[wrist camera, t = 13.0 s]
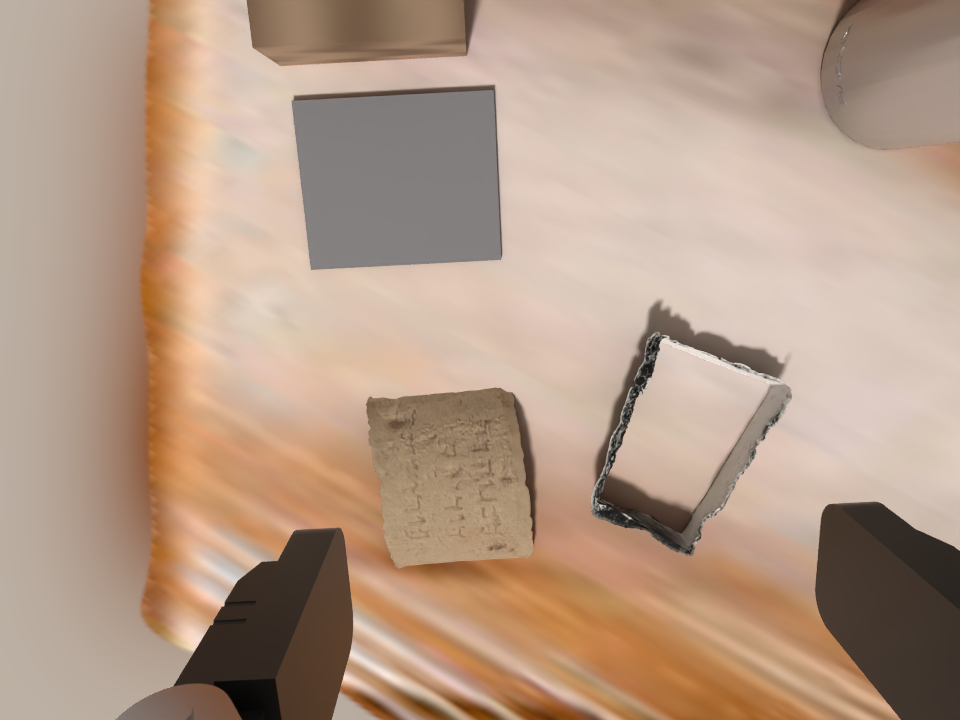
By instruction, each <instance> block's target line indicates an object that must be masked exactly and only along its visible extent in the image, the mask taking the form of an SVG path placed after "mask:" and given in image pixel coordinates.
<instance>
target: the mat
mask: <svg viewBox="0 0 960 720" xmlns="http://www.w3.org/2000/svg"><path fill="white" fill-rule="evenodd" d="M292 108H293V116H294V125H295V134H296V143H297V151H298V160H299V169H300V178H301V186H302V195H303V204H304V212H305V221H306V230H307V239H308V247H309V256H310V265H311V270H315V269H334V268H353V267H372V266H391V265H410V264H429V263H448V262H467V261H486V260H501V244H500V221H499V198H498V175H497V152H496V129H495V105H494V90H482V91H463V92H444V93H426V94H407V95H389V96H370V97H352V98H333V99H315V100H296V101H292Z"/></svg>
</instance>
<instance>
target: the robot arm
mask: <svg viewBox="0 0 960 720" xmlns="http://www.w3.org/2000/svg"><path fill="white" fill-rule="evenodd" d="M821 90H822V94H823V98H824V102H825V106H826V108H827V110H828V112H829V114H830V116H831V118H832V120H833V122H834V123H835V124H836V125H837V126H838V128H839V129H840V130H841V131H842V132H843V133H844V134H845V135H847V136H848V137H849V138H851V139H852V140H853V141H855V142H857V143H860V144H862V145H864V146H867V147H870V148H877V149H883V150H886V149H901V148H911V147H920V146H930V145H942V144H951V143H960V0H861V1H859V2H858V3H857V4H856V5H854V6H853V7H852V8H851V9H850V10H849V11H848V13H847V14H846V15H845V16H844V17H843V18H842V20H841V21H840V22H839V24H838V25H837V27H836V29H835V30H834V32H833V34H832V36H831V37H830V40H829V43H828V45H827V48H826V51H825V53H824V58H823V64H822V70H821ZM815 592H816V601H817V606H818V609H819V613H820V615H821V618H822V620H823V622H824V624H825V626H826V627H827V629H828V630H829V631H830V633H831V634H832V635H833V636H834V637H835V639H836V640H837V641H838V642H839V644H840V645H841V646H842V647H843V649H844V650H845V651H846V652H847V654H848V655H849V656H850V657H851V658H852V660H853V661H854V662H855V663H856V665H857V666H858V667H859V668H860V670H861V671H862V672H863V673H864V674H865V676H866V677H867V678H868V679H869V681H870V682H871V683H872V684H873V686H874V687H875V688H876V689H877V690H878V692H879V693H880V694H881V695H882V697H883V698H884V699H885V700H886V702H887V703H888V704H889V705H890V706H891V708H892V709H893V710H894V711H895V713H896V714H897V715H898V716H899V718H900V719H901V720H960V551H959V550H958V549H956V548H955V547H954V546H952V545H949V544H947V543H945V542H943V541H941V540H938V539H936V538H934V537H932V536H929V535H927V534H925V533H923V532H921V531H918V530H916V529H914V528H913V527H912V526H911V525H909V524H908V523H907V522H905V521H904V520H903V519H901V518H900V517H899V516H897V515H896V514H895V513H893V512H892V511H891V510H889V509H888V508H887V507H886V506H884V505H883V504H881V503H879V502H860V503H840V504H829V505H827V506H826V507H825V509H824V511H823V513H822V517H821V526H820V538H819V550H818V562H817V574H816V587H815ZM352 635H353V610H352V601H351V592H350V583H349V574H348V565H347V557H346V548H345V540H344V535H343V532H342V530H341V528H325V529H306V530H295V531H294V532H293V534H292V535H291V537H290V539H289V541H288V543H287V545H286V547H285V549H284V550H283V552H282V554H281V556H280V558H279V560H278V561H270V562H261V563H260V564H259V565H257V566H256V567H255V568H253V569H252V570H251V571H250V572H248V573H247V574H246V575H245V576H243V577H242V578H241V579H240V580H238V581H237V583H236V585H235V586H234V588H233V590H232V591H231V593H230V595H229V596H228V598H227V599H226V601H225V606H224V607H222V608H221V609H220V611H219V612H218V614H217V616H216V617H215V619H214V624H213V625H211V626H210V627H209V629H208V630H207V632H206V634H205V635H204V637H203V639H202V640H201V642H200V644H199V645H198V647H197V648H196V650H195V652H194V653H193V655H192V657H191V658H190V660H189V662H188V663H187V665H186V666H185V668H184V670H183V671H182V673H181V675H180V676H179V678H178V680H177V681H176V683H175V685H174V686H173V687H171V688H167V689H164V690H162V691H159V692H156V693H154V694H152V695H150V696H148V697H146V698H144V699H142V700H141V701H139V702H137V703H136V704H134V705H133V706H132V707H130V708H129V709H127V710H126V711H125V712H123V713H122V714H121V715H120V716H119V717H118V718H117V719H116V720H332V716H333V713H334V708H335V705H336V701H337V698H338V694H339V691H340V687H341V683H342V679H343V676H344V672H345V668H346V665H347V661H348V657H349V654H350V650H351V644H352Z"/></svg>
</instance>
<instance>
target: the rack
mask: <svg viewBox="0 0 960 720" xmlns="http://www.w3.org/2000/svg"><path fill="white" fill-rule="evenodd" d="M247 6H248V14H249V22H250V30H251V38H252V46H253V48H254V49H256V50H257V51H259V52H260V53H262V54H263V55H265V56H266V57H268V58H269V59H271V60H272V61H274V62H276V63H277V64H279V65H280V66H286V65H304V64H323V63H341V62H360V61H378V60H397V59H415V58H433V57H452V56H467V52H466V33H465V14H464V0H247Z"/></svg>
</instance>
